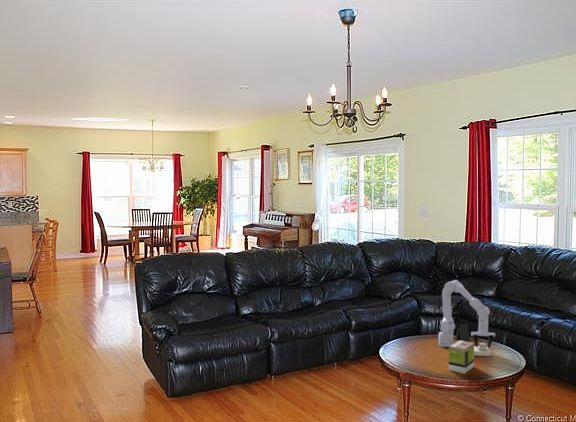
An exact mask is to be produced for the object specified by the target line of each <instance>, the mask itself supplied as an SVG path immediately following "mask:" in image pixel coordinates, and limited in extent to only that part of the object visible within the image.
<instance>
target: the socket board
mask: <svg viewBox="0 0 576 422" xmlns="http://www.w3.org/2000/svg"><path fill="white" fill-rule="evenodd" d="M491 356H492V351H491V350H490V349H489V347H487V351H485V350H479V345H478V346H477V347H476V345H474V357H491Z"/></svg>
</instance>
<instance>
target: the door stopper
mask: <svg viewBox="0 0 576 422" xmlns="http://www.w3.org/2000/svg"><path fill="white" fill-rule="evenodd" d="M458 340H460V341H466V342H471V339H470V333H469V325H468V324H467V323H461V324H457V332H456V335H455V342H456V341H458Z"/></svg>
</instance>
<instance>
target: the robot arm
mask: <svg viewBox="0 0 576 422" xmlns="http://www.w3.org/2000/svg"><path fill="white" fill-rule="evenodd" d="M453 292H454V293H458V294H459V293H460V294H461V295H462V296H463V297H464V298H465V299H466V300H467V301H468V302H469V306H471V307H472V308H473V309H474V310H475V312H476V313H477V315H478V328H477V329H478V330H477V331H471V332H470V335H471V337H472V339H473V341H474V346H476V347H477V346H479V342H478V340H479V338H478V337H487V348H488V349H489V348H490V347H491V344H492V342H493V341H494V338H495V337H496V333H495V332H489V315H490V314H491V310H490V308H489V307H488V306H485V305H484V304H483V303H482V302H481V301H480V299H479V298H477V297H474V296H473V295H471V294H470V292H469V291H468V290H467V289H466V288H465V287H464V285H463V284H462V283H461V281H459V280H458V279H453V280H452V281H448V282H446V283H444V287H443V288H442V291H441V296H442V297H441V299H442V315H443V317H442V320H441V325H440V331H439V332H438V343H437V344H438V346H439V347H442V348H449V346H450V345H452V344H453V343H454V331H455V329H456V324H455V322H454V318H453V317H452V315H453V313H452V312H453V311H452V298H451V297H452V295H451V294H454V293H453Z"/></svg>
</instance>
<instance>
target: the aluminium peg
mask: <svg viewBox="0 0 576 422" xmlns="http://www.w3.org/2000/svg"><path fill="white" fill-rule="evenodd" d="M478 346H479V350H485V351H487V348H488V343H486V342H478Z"/></svg>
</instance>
